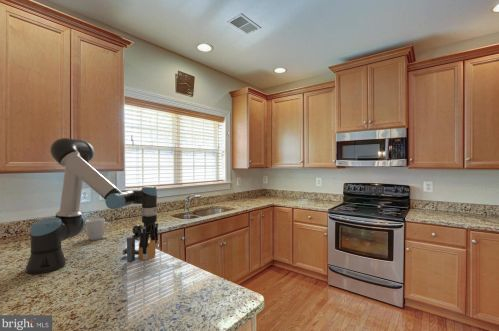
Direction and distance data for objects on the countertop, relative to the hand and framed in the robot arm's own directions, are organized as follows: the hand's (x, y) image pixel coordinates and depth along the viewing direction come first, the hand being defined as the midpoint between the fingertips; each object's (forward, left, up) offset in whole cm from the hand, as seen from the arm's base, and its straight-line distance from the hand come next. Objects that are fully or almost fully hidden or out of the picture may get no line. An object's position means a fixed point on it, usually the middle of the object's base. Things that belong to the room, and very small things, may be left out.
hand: (149, 257), depth 134 cm
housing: (0, +7, 0) cm, 7 cm away
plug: (0, +7, 0) cm, 7 cm away
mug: (+25, +55, -1) cm, 60 cm away
